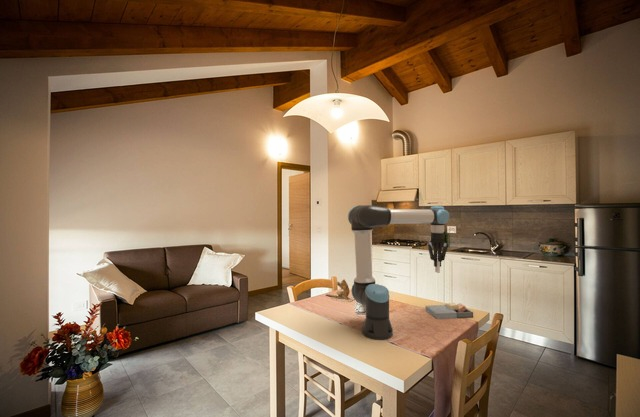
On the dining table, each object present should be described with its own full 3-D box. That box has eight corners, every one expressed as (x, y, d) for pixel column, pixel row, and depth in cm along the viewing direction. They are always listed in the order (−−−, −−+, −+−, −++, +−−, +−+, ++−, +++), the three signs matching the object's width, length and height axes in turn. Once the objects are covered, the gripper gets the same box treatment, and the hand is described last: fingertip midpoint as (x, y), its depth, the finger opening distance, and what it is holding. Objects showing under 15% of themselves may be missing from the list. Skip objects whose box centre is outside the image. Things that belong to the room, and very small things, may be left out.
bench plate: (456, 317, 172) (456, 312, 172) (436, 318, 171) (436, 313, 171) (444, 309, 186) (444, 304, 186) (425, 310, 185) (425, 305, 185)
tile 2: (457, 310, 177) (459, 313, 177) (464, 305, 177) (466, 309, 177) (453, 307, 182) (455, 310, 182) (459, 303, 182) (461, 306, 182)
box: (473, 317, 172) (473, 312, 172) (457, 318, 171) (457, 312, 171) (458, 308, 187) (458, 304, 187) (443, 309, 186) (443, 304, 186)
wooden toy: (357, 299, 210) (356, 279, 210) (349, 302, 202) (349, 282, 202) (330, 294, 223) (330, 275, 223) (322, 297, 215) (322, 278, 215)
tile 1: (458, 309, 177) (458, 305, 177) (450, 309, 176) (450, 305, 176) (453, 306, 182) (453, 302, 182) (446, 307, 181) (446, 303, 181)
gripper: (444, 231, 183) (444, 270, 183) (424, 231, 182) (424, 271, 182) (451, 232, 176) (451, 273, 175) (429, 232, 174) (429, 273, 174)
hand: (437, 272), depth 179 cm, fingers closed
